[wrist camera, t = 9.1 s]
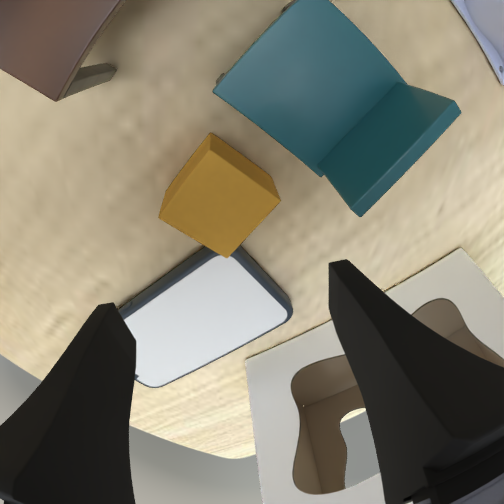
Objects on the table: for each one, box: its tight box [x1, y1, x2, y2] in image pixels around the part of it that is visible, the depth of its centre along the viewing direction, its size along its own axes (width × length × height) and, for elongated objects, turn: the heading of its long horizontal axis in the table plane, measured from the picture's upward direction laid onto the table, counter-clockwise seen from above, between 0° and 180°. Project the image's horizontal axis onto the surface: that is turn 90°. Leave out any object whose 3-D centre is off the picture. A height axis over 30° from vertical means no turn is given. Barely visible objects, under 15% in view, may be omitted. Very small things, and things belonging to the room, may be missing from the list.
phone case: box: [118, 245, 293, 388], centre depth 24 cm, size 9×2×16 cm
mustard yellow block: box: [158, 133, 281, 258], centre depth 17 cm, size 4×4×3 cm
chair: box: [213, 0, 461, 217], centre depth 12 cm, size 6×6×8 cm
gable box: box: [245, 248, 504, 504], centre depth 18 cm, size 22×13×28 cm, turn 121°
